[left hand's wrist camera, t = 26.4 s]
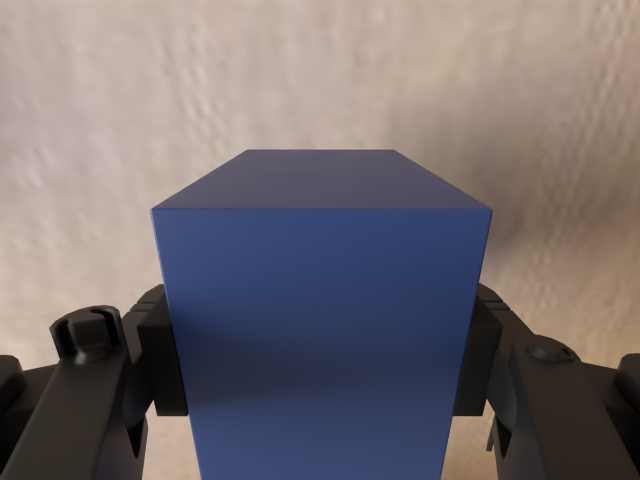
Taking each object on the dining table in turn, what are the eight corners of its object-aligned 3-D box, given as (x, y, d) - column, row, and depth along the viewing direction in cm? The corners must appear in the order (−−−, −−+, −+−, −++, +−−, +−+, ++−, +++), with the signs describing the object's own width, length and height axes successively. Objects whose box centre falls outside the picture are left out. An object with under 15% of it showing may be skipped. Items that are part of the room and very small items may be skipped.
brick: (382, 303, 18) (440, 486, 10) (258, 303, 18) (201, 486, 10) (394, 149, 15) (494, 208, 7) (246, 149, 15) (148, 208, 7)
